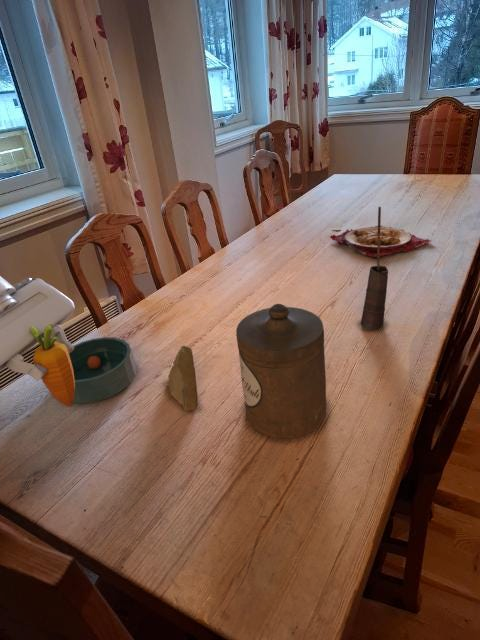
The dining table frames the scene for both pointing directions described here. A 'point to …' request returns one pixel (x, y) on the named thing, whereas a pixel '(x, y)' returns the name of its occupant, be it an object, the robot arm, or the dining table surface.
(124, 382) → the bowl
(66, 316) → the robot arm
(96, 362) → the ball
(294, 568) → the dining table surface
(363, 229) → the plate with food
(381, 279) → the butter churn
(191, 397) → the rock
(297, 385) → the wooden container
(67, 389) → the carrot
